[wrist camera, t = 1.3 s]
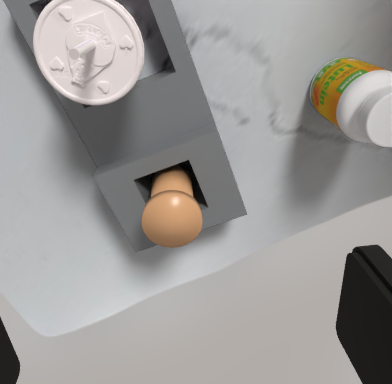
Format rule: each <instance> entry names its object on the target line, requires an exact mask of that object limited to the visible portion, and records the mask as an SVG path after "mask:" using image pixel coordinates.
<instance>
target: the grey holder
mask: <svg viewBox="0 0 392 384" xmlns="http://www.w3.org/2000/svg"><path fill="white" fill-rule="evenodd" d="M3 1H4V2H5V4H6V6H7V8H8V10H9V11H10V13H11V15H12V17H13V18H14V20H15V22H16V24H17V26H18V27H19V29H20V31H21V33H22V34H23V36H24V38H25V40H26V42H27V43H28V45H29V47H30V49H31V50H32V52H33V54H34V56H35V53H34V46H33V35H34V29H35V25H36V22H37V20H38V17H39V15H40V14H41V12H42V11H43V9H44V6H43V3H45V2H47V1H49V0H3ZM149 3H150V5H151V8H152V11H153V13H154V16H155V19H156V21H157V24H158V26H159V29H160V32H161V34H162V37H163V39H164V42H165V45H166V47H167V50H168V52H169V55H170V58H171V60H172V63H173V65H174V67H171V68H169V69H166V70H164V71H161V72H159V73H156V74H154V75H151V76H149V77H146V78H144V79H141V80H139V81H137V82H136V84H135V85H134V86H133V87H132V88H131V90H130V91H129V92H128V93H127V94H126V95H124V96H123V97H121V98H120V99H118V100H116V101H114V102H112V103H108V104H104V105H86V104H81V103H78V102H75V101H73V100H71V99H69V98H67V97H65V96H63V95H62V94H61V93H59V92H58V91H57V90H56V89H55V88H54V87H53V86H52V85H51V86H52V88H53V90H54V91H55V93H56V95H57V97H58V99H59V100H60V102H61V104H62V106H63V107H64V109H65V111H66V113H67V115H68V116H69V118H70V120H71V122H72V123H73V125H74V127H75V129H76V131H77V132H78V134H79V136H80V138H81V140H82V141H83V143H84V145H85V147H86V148H87V150H88V152H89V154H90V156H91V157H92V159H93V161H94V163H95V164H96V166H97V168H96V171H95V173H94V175H93V179H94V180H95V182H96V184H97V186H98V187H99V189H100V191H101V192H102V194H103V196H104V198H105V199H106V201H107V203H108V205H109V206H110V208H111V210H112V212H113V213H114V215H115V217H116V218H117V220H118V222H119V224H120V225H121V227H122V229H123V231H124V232H125V234H126V236H127V237H128V239H129V241H130V243H131V244H132V246H133V248H134V250H135V251H136V252H138V251H141V250H144V249H147V248H150V247H153V246H156V245H158V244H156V243H154V242H153V241H151V240H150V239H149V238H148V237H147V236H146V234H145V233H144V231H143V228H142V214H143V209H144V206H145V204H146V203H147V201H148V200H149V199H150V198H151V190H152V184H151V182H150V180H149V178H148V176H147V175H148V174H151V173H154V172H157V171H159V170H162V169H165V168H167V167H170V166H173V165H176V164H178V163H181V162H184V161H187V160H189V161H190V164H191V166H192V169H193V171H194V173H195V176H196V178H197V181H198V183H199V184H198V185H195V186H192V189H193V198H194V199H195V200H196V201H197V202H198V204H199V206H200V208H201V213H202V221H203V223H202V228H201V230H203V229H206V228H208V227H211V226H214V225H217V224H220V223H223V222H226V221H229V220H232V219H235V218H238V217H241V216H244V215H247V212H246V210H245V207H244V204H243V201H242V198H241V195H240V192H239V189H238V187H237V184H236V181H235V178H234V175H233V172H232V170H231V167H230V164H229V161H228V158H227V156H226V153H225V150H224V147H223V144H222V142H221V139H220V136H219V133H218V130H217V128H216V125H215V122H214V119H213V116H212V114H211V111H210V108H209V105H208V102H207V100H206V97H205V94H204V91H203V88H202V86H201V83H200V80H199V77H198V74H197V72H196V69H195V66H194V63H193V60H192V58H191V55H190V52H189V49H188V46H187V44H186V41H185V38H184V35H183V32H182V30H181V27H180V24H179V21H178V18H177V15H176V13H175V10H174V7H173V4H172V1H171V0H149ZM35 58H36V57H35Z"/></svg>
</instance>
